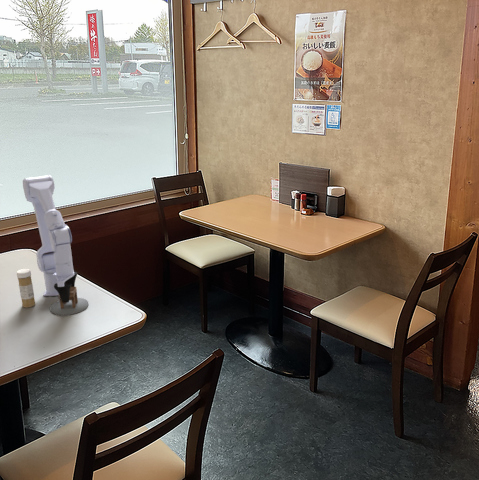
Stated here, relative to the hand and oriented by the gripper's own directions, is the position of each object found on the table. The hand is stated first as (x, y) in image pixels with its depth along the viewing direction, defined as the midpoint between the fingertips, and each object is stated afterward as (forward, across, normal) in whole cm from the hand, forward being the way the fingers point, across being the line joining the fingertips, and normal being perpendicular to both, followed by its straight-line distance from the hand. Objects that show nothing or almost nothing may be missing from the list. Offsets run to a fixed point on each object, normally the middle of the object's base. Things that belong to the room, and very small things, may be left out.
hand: (68, 297), depth 180 cm
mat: (+4, 0, 0) cm, 4 cm away
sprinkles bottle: (+4, -3, -15) cm, 16 cm away
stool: (+3, 0, 0) cm, 3 cm away
